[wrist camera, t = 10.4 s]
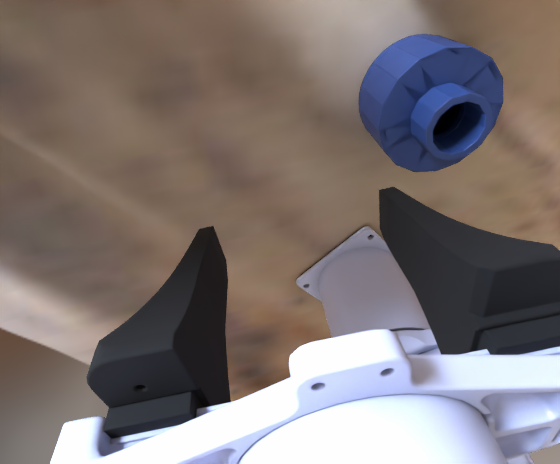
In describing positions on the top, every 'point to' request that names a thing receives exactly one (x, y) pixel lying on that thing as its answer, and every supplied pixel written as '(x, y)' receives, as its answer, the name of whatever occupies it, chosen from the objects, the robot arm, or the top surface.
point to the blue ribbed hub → (430, 101)
